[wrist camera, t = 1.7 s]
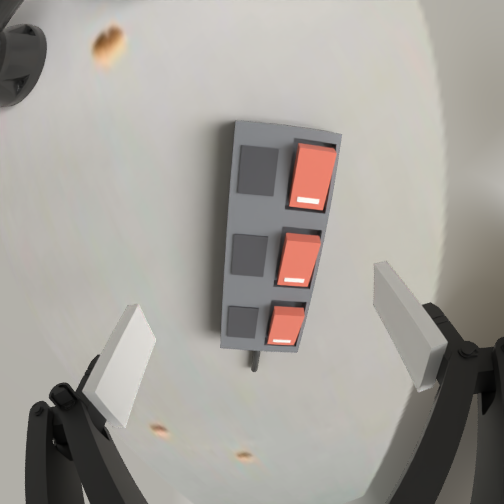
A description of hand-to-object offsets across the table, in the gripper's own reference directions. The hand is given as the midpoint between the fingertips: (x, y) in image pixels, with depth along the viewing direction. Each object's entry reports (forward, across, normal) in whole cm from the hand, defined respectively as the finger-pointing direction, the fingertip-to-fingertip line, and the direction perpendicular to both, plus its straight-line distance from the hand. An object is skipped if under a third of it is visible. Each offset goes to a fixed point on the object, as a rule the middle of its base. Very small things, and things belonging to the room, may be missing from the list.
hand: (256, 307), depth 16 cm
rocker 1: (+23, +7, +1) cm, 24 cm away
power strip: (+27, 0, -13) cm, 30 cm away
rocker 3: (+23, +1, -21) cm, 31 cm away
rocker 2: (+23, +4, -10) cm, 25 cm away
